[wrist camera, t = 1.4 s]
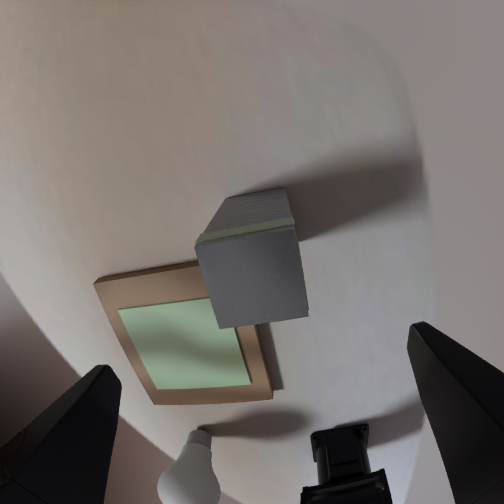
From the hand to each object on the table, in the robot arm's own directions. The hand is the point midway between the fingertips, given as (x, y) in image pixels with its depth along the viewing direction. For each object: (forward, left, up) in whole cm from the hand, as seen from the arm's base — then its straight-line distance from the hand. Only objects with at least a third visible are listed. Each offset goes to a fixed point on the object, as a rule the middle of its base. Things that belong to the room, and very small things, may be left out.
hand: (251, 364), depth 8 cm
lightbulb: (-22, +11, -14) cm, 28 cm away
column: (0, 0, -14) cm, 14 cm away
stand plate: (-9, +8, -14) cm, 19 cm away
